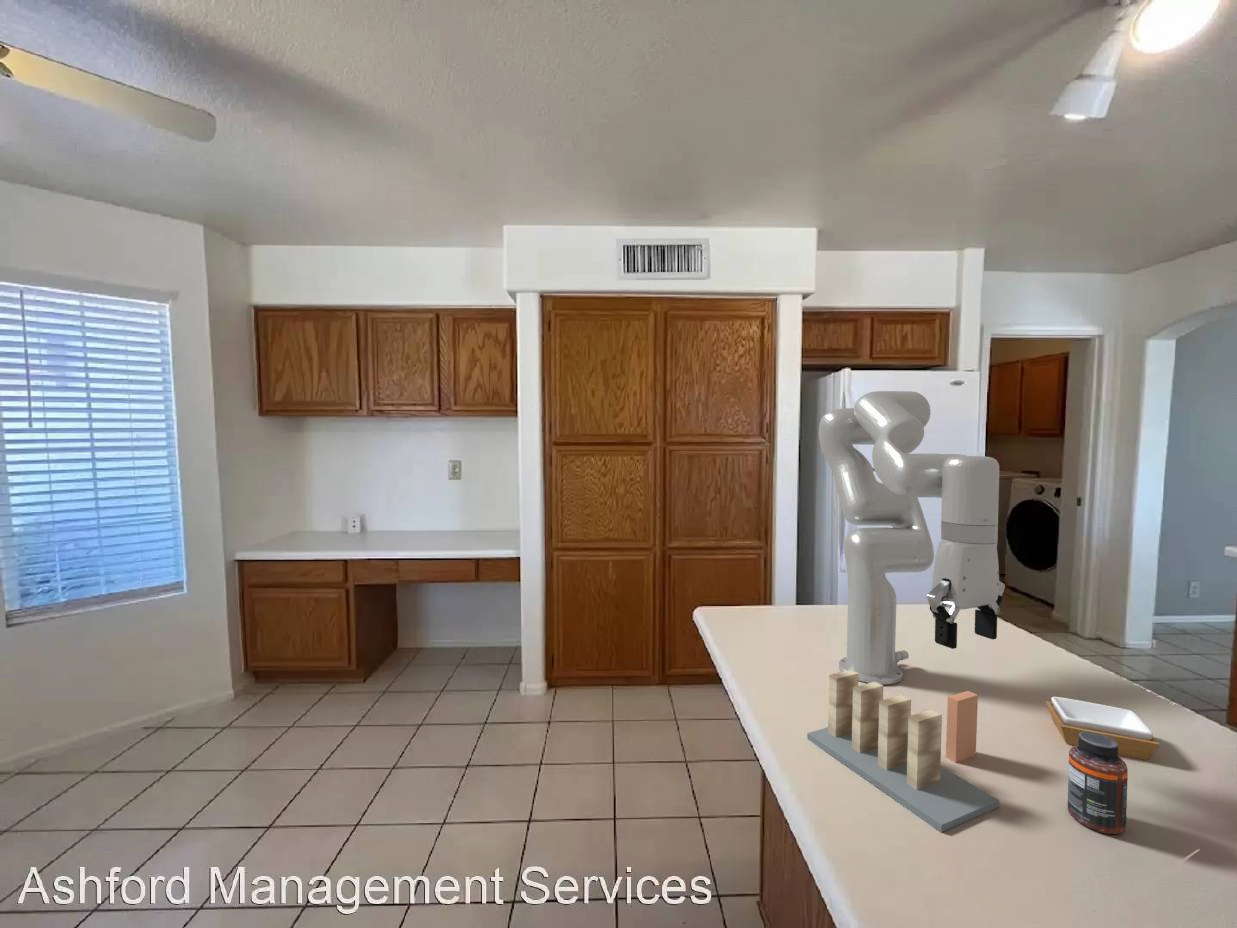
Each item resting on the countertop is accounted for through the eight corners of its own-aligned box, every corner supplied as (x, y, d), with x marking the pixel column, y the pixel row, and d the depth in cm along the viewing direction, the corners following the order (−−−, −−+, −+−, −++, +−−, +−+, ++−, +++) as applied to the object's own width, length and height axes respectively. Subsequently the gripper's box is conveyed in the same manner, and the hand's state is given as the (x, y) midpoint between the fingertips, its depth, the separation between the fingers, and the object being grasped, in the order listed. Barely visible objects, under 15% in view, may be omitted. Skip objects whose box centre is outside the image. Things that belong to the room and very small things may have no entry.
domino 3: (900, 756, 86) (902, 694, 85) (909, 761, 84) (911, 699, 84) (877, 764, 84) (879, 700, 83) (886, 769, 82) (888, 705, 82)
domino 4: (929, 774, 81) (931, 709, 81) (939, 780, 80) (942, 714, 79) (906, 782, 79) (908, 716, 79) (916, 789, 78) (918, 721, 77)
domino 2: (873, 740, 90) (875, 681, 90) (881, 745, 89) (883, 685, 88) (851, 747, 88) (853, 687, 88) (859, 752, 87) (861, 691, 86)
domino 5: (965, 750, 89) (968, 690, 89) (975, 755, 88) (977, 694, 87) (945, 757, 87) (947, 696, 87) (955, 762, 86) (957, 700, 85)
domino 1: (849, 725, 95) (850, 669, 94) (857, 730, 93) (858, 673, 93) (828, 732, 93) (829, 674, 92) (835, 736, 91) (836, 678, 91)
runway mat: (858, 723, 97) (858, 718, 97) (998, 806, 75) (999, 799, 75) (807, 738, 92) (807, 733, 92) (941, 832, 71) (941, 824, 71)
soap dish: (1060, 747, 90) (1061, 718, 90) (1043, 719, 99) (1044, 692, 99) (1159, 767, 85) (1161, 735, 85) (1133, 736, 94) (1134, 707, 94)
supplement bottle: (1111, 811, 75) (1115, 731, 74) (1136, 841, 69) (1140, 755, 68) (1058, 801, 77) (1062, 723, 76) (1078, 830, 71) (1082, 746, 70)
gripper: (979, 527, 93) (976, 626, 93) (909, 534, 85) (907, 641, 86) (1027, 534, 86) (1024, 640, 86) (955, 542, 79) (953, 658, 79)
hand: (965, 640), depth 86 cm, fingers open, 9 cm apart
